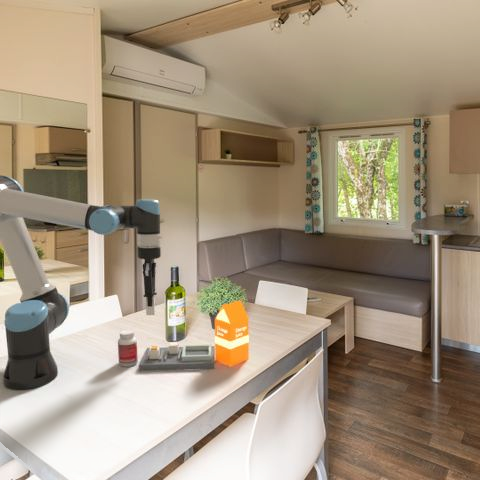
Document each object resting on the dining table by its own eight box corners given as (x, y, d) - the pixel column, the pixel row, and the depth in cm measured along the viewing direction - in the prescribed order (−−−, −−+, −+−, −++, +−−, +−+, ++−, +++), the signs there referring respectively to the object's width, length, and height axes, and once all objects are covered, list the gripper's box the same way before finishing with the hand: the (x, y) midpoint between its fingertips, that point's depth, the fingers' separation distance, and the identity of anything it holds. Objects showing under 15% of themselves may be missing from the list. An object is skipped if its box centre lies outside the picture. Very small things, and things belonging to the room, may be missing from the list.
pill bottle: (140, 364, 142) (139, 332, 140) (122, 369, 138) (120, 336, 137) (133, 358, 147) (132, 327, 145) (116, 362, 144) (114, 331, 142)
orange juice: (214, 359, 145) (214, 303, 142) (233, 352, 151) (233, 297, 149) (230, 366, 140) (230, 308, 137) (249, 358, 146) (249, 302, 143)
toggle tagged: (149, 359, 141) (149, 349, 140) (150, 355, 144) (150, 345, 143) (158, 358, 141) (158, 349, 140) (159, 355, 144) (159, 345, 143)
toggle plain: (169, 354, 145) (168, 345, 144) (169, 350, 148) (169, 342, 147) (177, 353, 145) (177, 345, 144) (178, 350, 148) (178, 342, 147)
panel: (140, 370, 137) (139, 360, 136) (147, 353, 151) (146, 343, 150) (214, 368, 138) (214, 358, 138) (214, 351, 152) (214, 342, 152)
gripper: (157, 249, 135) (159, 320, 138) (162, 243, 148) (163, 308, 151) (133, 249, 134) (136, 321, 138) (140, 243, 147) (142, 308, 150)
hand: (150, 314), depth 144 cm, fingers closed
